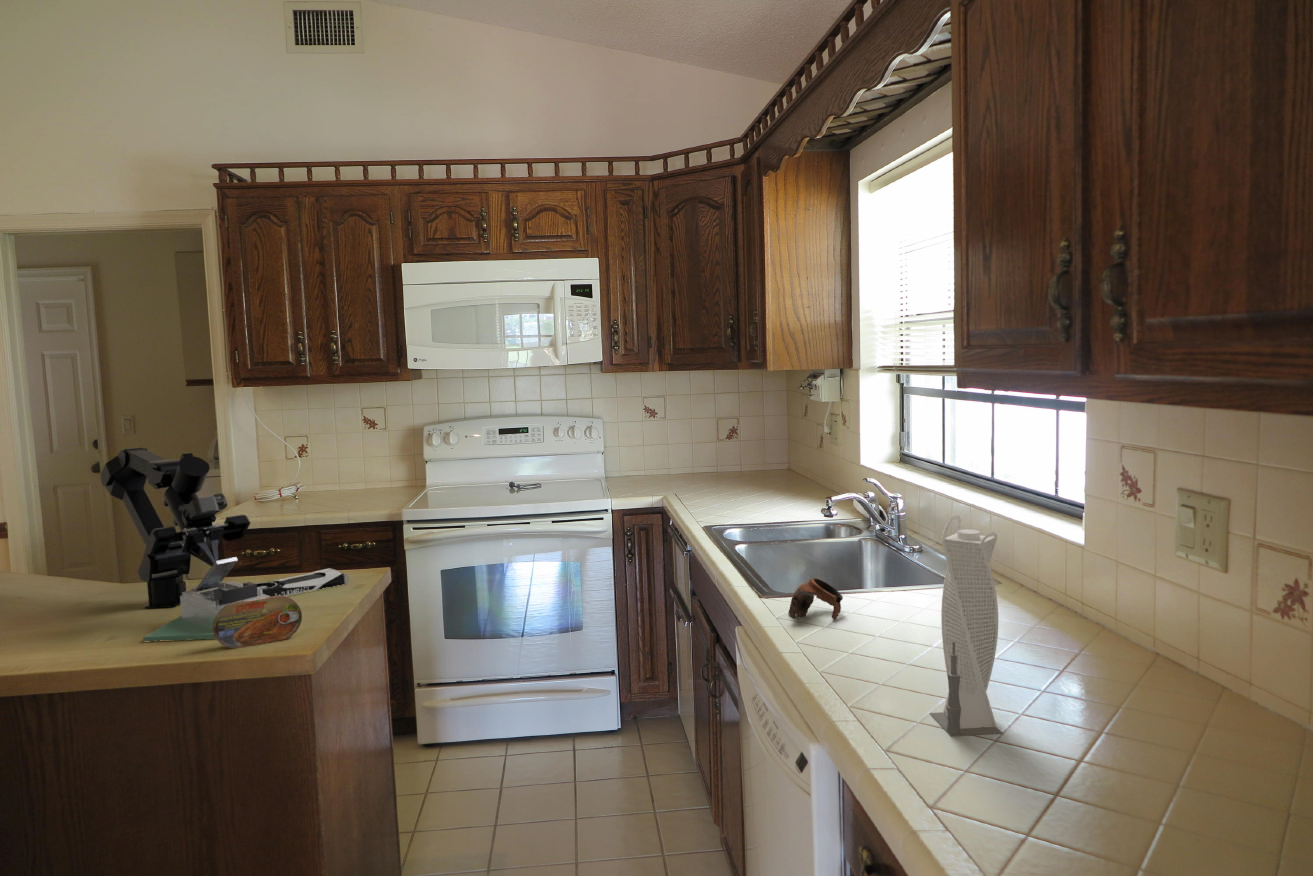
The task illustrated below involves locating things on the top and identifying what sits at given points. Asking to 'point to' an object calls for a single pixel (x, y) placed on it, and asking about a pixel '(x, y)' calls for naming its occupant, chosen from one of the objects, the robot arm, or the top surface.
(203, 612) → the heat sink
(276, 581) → the graphics card
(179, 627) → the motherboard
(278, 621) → the tin
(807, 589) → the brown curved loop
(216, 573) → the grey rectangular slab
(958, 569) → the skyscraper
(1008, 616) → the top surface
